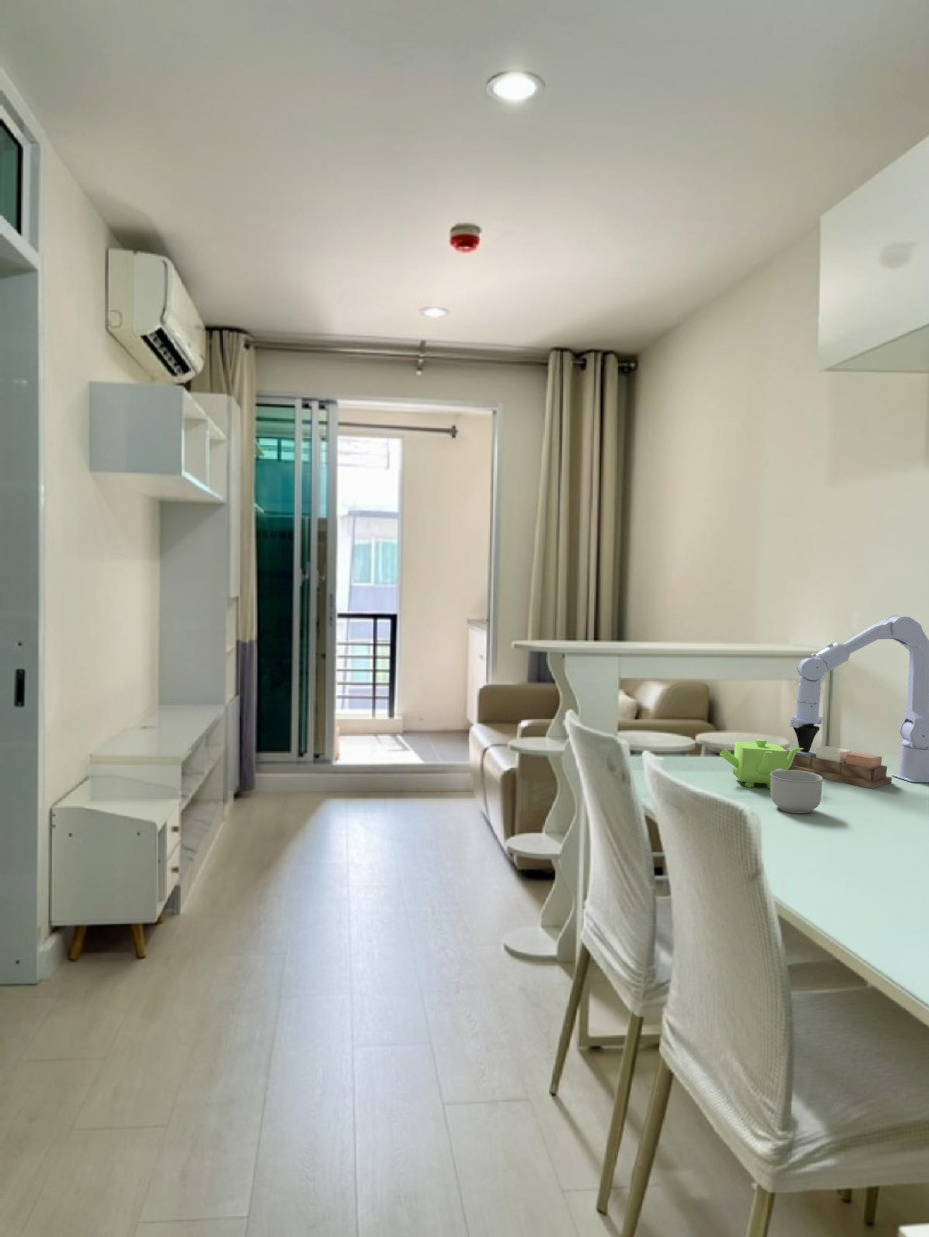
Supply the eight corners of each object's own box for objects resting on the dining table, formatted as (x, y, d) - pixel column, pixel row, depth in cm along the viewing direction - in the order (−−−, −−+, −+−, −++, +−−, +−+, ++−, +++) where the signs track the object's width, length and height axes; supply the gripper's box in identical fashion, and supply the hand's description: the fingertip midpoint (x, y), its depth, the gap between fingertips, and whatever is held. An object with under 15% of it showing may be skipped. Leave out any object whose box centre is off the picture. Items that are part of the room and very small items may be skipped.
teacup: (827, 818, 188) (830, 781, 188) (777, 815, 188) (779, 778, 188) (804, 801, 202) (806, 767, 201) (756, 798, 202) (759, 764, 202)
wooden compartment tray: (891, 783, 228) (892, 765, 228) (872, 788, 220) (873, 770, 220) (796, 763, 247) (797, 747, 247) (775, 768, 239) (776, 751, 239)
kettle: (801, 787, 216) (804, 742, 216) (771, 795, 207) (775, 748, 206) (746, 775, 227) (749, 732, 227) (716, 781, 218) (719, 736, 217)
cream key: (850, 762, 233) (851, 750, 233) (839, 764, 229) (840, 752, 229) (826, 757, 238) (827, 746, 238) (815, 760, 233) (816, 748, 233)
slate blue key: (820, 764, 239) (821, 752, 239) (809, 766, 235) (810, 754, 235) (797, 759, 244) (798, 748, 244) (786, 762, 239) (787, 750, 239)
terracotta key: (881, 768, 227) (882, 756, 227) (870, 771, 223) (871, 758, 223) (856, 763, 232) (857, 751, 232) (845, 766, 228) (846, 753, 227)
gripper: (806, 698, 246) (802, 746, 247) (781, 701, 236) (777, 751, 237) (831, 702, 241) (827, 751, 242) (806, 705, 231) (802, 756, 232)
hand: (804, 751), depth 239 cm, fingers closed, pressing on slate blue key
